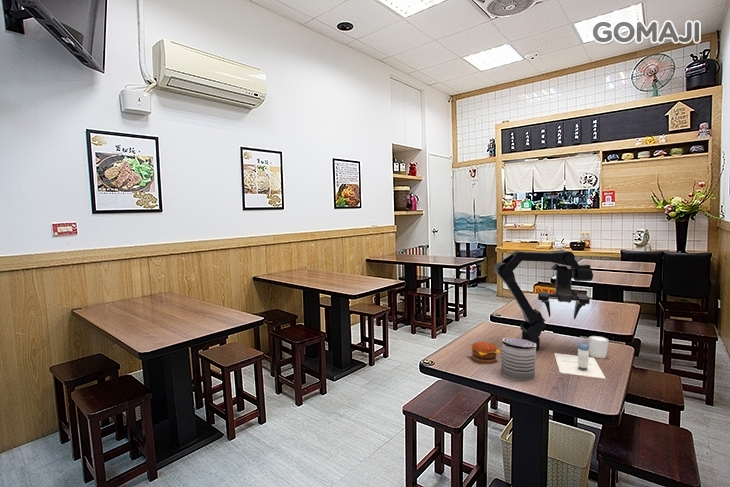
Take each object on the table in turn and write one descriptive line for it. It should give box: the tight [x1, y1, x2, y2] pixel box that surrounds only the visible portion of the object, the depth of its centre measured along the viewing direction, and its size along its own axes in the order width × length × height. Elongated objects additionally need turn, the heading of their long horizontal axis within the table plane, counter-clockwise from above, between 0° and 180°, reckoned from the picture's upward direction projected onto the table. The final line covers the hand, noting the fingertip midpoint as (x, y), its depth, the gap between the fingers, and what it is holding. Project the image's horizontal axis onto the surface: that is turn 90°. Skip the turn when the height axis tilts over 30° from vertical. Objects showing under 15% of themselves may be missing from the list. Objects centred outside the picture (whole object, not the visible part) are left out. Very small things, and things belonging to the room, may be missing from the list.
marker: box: [577, 342, 590, 371], centre depth 139 cm, size 3×3×9 cm
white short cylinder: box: [588, 335, 610, 359], centre depth 153 cm, size 7×7×7 cm
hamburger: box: [468, 340, 502, 365], centre depth 150 cm, size 9×10×7 cm
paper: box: [553, 352, 607, 380], centre depth 144 cm, size 14×20×1 cm
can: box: [500, 337, 537, 382], centre depth 136 cm, size 11×11×12 cm
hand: (561, 317), depth 160 cm, fingers open, 9 cm apart
